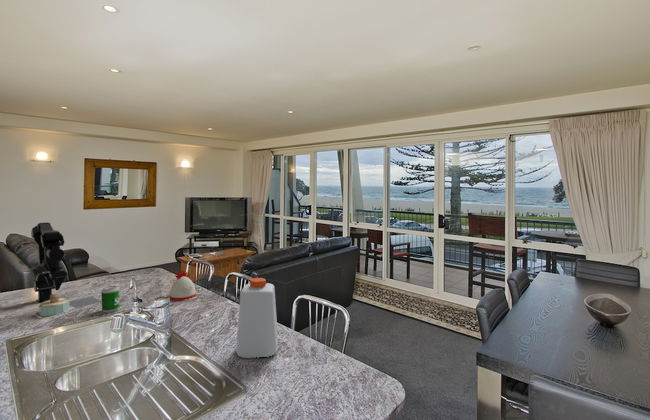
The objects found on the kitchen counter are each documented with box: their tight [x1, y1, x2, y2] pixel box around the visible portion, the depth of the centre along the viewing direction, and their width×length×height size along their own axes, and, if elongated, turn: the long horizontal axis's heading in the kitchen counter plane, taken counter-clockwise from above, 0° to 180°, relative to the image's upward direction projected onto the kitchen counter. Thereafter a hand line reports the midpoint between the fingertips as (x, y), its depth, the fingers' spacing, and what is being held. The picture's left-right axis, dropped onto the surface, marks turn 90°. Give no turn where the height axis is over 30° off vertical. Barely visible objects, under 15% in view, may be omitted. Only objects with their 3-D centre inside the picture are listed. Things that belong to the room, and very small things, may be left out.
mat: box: [69, 296, 102, 309], centre depth 177 cm, size 14×12×1 cm
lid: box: [40, 293, 69, 307], centre depth 162 cm, size 10×10×4 cm
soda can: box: [100, 285, 121, 314], centre depth 165 cm, size 8×8×12 cm
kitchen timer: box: [169, 270, 197, 301], centre depth 188 cm, size 14×14×15 cm
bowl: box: [38, 299, 71, 317], centre depth 163 cm, size 11×11×4 cm
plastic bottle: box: [236, 277, 279, 359], centre depth 128 cm, size 15×15×28 cm
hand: (53, 288), depth 162 cm, fingers open, 9 cm apart
